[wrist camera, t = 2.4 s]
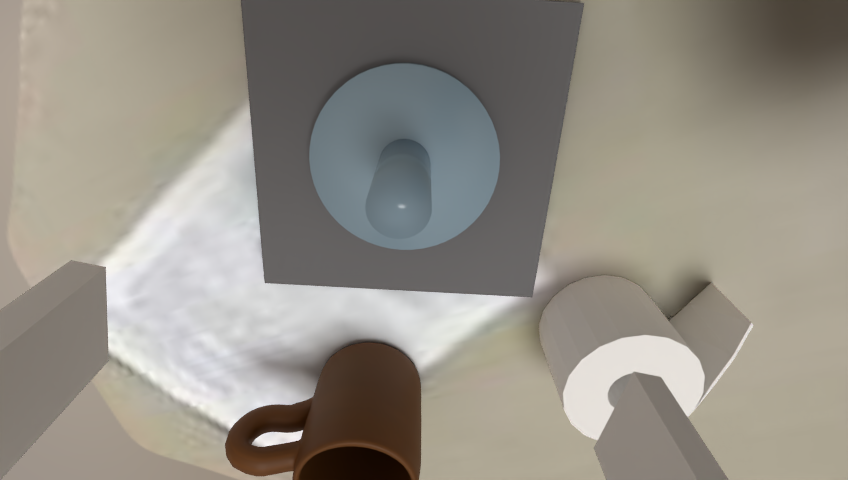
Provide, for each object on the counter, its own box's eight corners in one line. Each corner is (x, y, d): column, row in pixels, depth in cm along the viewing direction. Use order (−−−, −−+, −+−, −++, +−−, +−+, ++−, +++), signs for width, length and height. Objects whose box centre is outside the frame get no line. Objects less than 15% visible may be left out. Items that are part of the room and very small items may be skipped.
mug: (259, 402, 38) (211, 514, 30) (263, 321, 35) (211, 420, 27) (412, 423, 39) (408, 538, 31) (430, 346, 36) (431, 449, 27)
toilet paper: (713, 283, 34) (778, 345, 28) (597, 388, 38) (631, 463, 31) (627, 218, 32) (677, 269, 26) (514, 335, 36) (533, 404, 29)
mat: (243, -20, 26) (239, -21, 26) (580, 3, 27) (584, 3, 26) (267, 278, 34) (264, 282, 33) (530, 292, 34) (532, 297, 34)
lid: (308, 56, 27) (266, 73, 20) (508, 68, 27) (538, 89, 20) (316, 238, 32) (284, 306, 25) (487, 247, 32) (505, 317, 25)
